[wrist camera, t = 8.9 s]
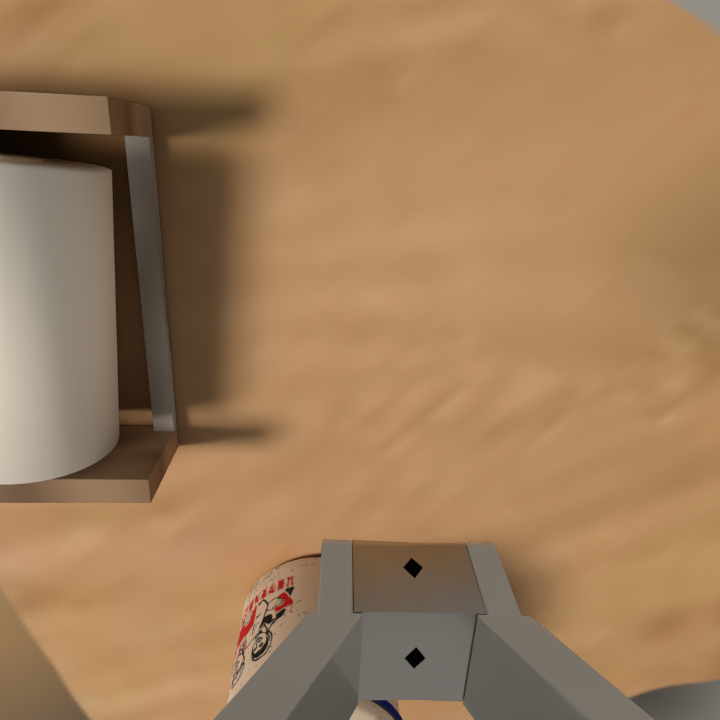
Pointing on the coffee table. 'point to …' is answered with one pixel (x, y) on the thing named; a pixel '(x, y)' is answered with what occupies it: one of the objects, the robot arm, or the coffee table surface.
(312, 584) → the teacup with lid
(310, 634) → the robot arm
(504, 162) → the coffee table surface
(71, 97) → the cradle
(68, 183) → the roll
